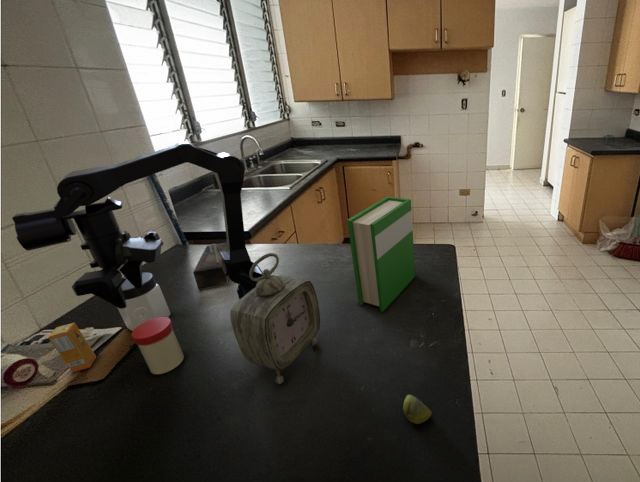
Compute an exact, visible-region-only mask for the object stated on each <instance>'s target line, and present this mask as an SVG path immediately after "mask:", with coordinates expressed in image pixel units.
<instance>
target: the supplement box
mask: <svg viewBox="0 0 640 482" xmlns="http://www.w3.org/2000/svg"><path fill="white" fill-rule="evenodd" d="M47 338H48V340H49V341H50V343H51V344H52V345H53V347H54V349H55V350H56V351H57V353H58V354H59V355H60V357H61V358H62V360H63V361H64V363H65V364H66V365H67V367H68V368H69V370H70V371H71V373H76V372H81V371H83V370H86V369H90V368H91V367H92V365H93V364H94V363H95V360H96V358H97V356H96V354H95V351H94V350H93V348H92V347H91V345H90V343H89V342H88V341H87V339H86V337H85V336H84V334H83V333H82V331H81V330H80V328H79V327H78V325H77V324H76V322H71V323H68V324H63V325H60V326H57V327H55V328H54V329H53V331H52V332H51V333H50V334H49V336H48V337H47Z"/></svg>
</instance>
